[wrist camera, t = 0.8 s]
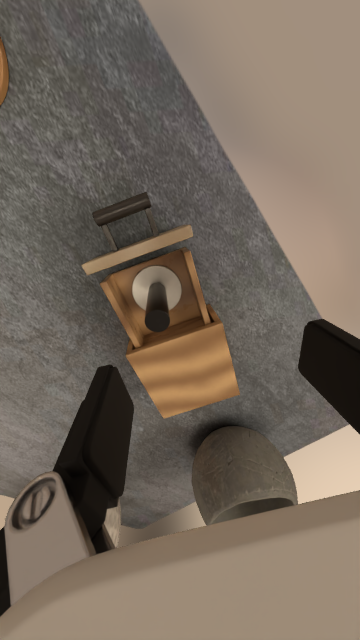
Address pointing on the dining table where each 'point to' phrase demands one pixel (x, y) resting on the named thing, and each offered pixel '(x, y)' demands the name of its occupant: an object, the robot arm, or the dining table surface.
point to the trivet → (3, 73)
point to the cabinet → (186, 368)
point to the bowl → (240, 476)
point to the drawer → (119, 284)
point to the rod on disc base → (156, 295)
